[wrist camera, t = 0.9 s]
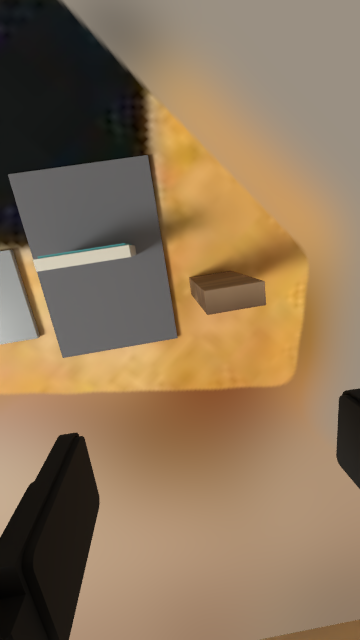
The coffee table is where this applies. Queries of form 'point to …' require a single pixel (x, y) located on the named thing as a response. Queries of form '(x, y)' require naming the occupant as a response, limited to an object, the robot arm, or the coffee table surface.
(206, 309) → the flat brown wooden slab
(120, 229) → the mat
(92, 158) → the coffee table surface
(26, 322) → the pad
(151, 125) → the coffee table surface
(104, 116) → the coffee table surface
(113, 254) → the tile
